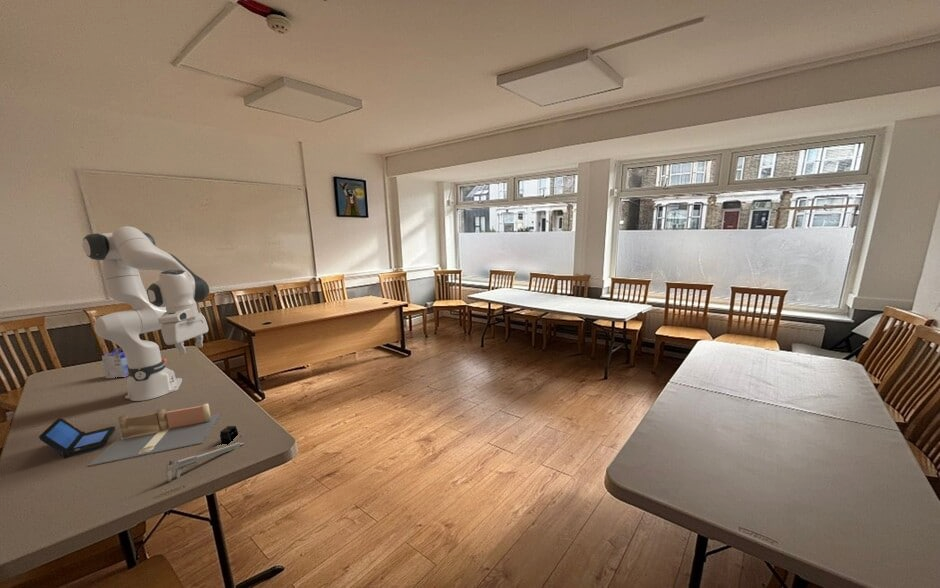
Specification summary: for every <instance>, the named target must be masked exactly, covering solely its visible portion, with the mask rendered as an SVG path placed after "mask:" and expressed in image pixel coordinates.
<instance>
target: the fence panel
mask: <svg viewBox="0 0 940 588" xmlns="http://www.w3.org/2000/svg"><path fill="white" fill-rule="evenodd" d="M166 415H167V420H168V425H169V428H174V427H179V426H185V425H190V424H195V423H201V422H207V421H210V420H211V411H210V405H209V403H208V402H207V403H204V404H202V405H197V406H192V407H186V408H181V409H180V408H179V409H173V410H169V411H166Z"/></svg>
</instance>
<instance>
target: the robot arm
mask: <svg viewBox="0 0 940 588" xmlns="http://www.w3.org/2000/svg"><path fill="white" fill-rule="evenodd" d="M81 246H82V249H83V252H84V253H85V255H86V256H87V257H88V258H90V259H91V260H94V261H102V273H103V277H104V281H105V285H106V287H107V291H108V294H109V296H110V298H111V299H112V300H114V301H116V302H119V303H124V304H127V305H129V306H131V307H132V309H129V310H128V309H127V310H122V311H115V312H111V313H107V314H105V315H101V316H99V317H97V318H96V320H94V321H95V322H94V325H93V330H94V332H95V334H96V335H97V336H98V337H100V338H101V339H104V340H107V341H110V342H112V343H114V344H116V345H117V346H119V348H121V351H122V352H124V354H125V356H126V359H127V363H128V374H129V376H128V379H126V388H127V394H126V395H125V396H124V398H125V399H127V400H130V401H132V402H140V401H141V402H142V401H148V400H152V399H155V398H159V397H162V396H165V395H167V394H169V393H172V392H176V391H178V390H179V388H180V386H181V384H182V382H183V378H181V377H176V374H175V371H174V370H172V369H170V368H168V367H167V366H166V365H165V364H166V363H167V358H162V354H161V351H160V346H159V344H157V343H156V342H154V341H151V340H146V339H145V340H144V339H141V338H140V335H141V334H142V335H143V334H145V333H150V332H155V331H159V330H161V335H162V338H163V341H164V343H165V344H166V345H167V346H171V345H174V347H175V348H176V349H177V350H178V352H179V355H181V356H182V355H186V354H188V348H187V347H185V346H184V345H185V343H184V342H185V341H188V340H190V339H193V338H194V339H196V340H195V343H194V344H195V348H202V347H203V346H204V344H203V341H204V334H206V333H208V332H209V325H208V323H207V320H206V317H205V316H204V315H203V313H202V312H200V310H198V304H197V303H203V301H205V300H206V299H207V298H208V297H209V294H210V287H209V284H208V283H207V282H206V280H204V279H203V278H202V277H200V276H198V275H197V274H195V273H194V271H192V270H191V269H190V268H189V267H188V266H187V265H186V264H184V263H183V262H182V261H181V260H180V259H179V258H178V257H176V256H175V255H174V254H172V253H169V252H166V251H165V250H162V249H161V248H159V247H157V246H156V241H155V238H154V237H153V236H152V235H151V234H150V233H149V232H148V233H147V232H144V231H141V230H140V229H139V228H137V227H134V226H129V225H128V226H127V225H125V226H121V227H118V228H116V229H115V230H113V232H102V233H98V232H96V233H90V234H87V235H86V236H84V237H83V238H82V245H81ZM140 270H142V271H159V272H160V273H159V277H158V278H159V279H158V280H157V281H156V282H154V283H153V282H152V283H151V284H150V285H149V286H148V288H145V285H144V283H143V281H142V276H141V274H140Z"/></svg>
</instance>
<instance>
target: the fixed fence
mask: <svg viewBox="0 0 940 588" xmlns="http://www.w3.org/2000/svg"><path fill="white" fill-rule="evenodd" d="M166 412H167V411H166V408H161V409H160V408H159V409H158V410H156V412H152V413H146V414H140V415H134V416H130V417H129V415H128V414H125V415H120V416H119V417H117V419H118V423H119V427H120V431H121V435H122V436H123V438H127V437H130V436H134V435H139V434H144V433H150V432H155V431H160V430H161V431H164V430H167V429H169V425H168V420H167V415H166Z"/></svg>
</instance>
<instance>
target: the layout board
mask: <svg viewBox="0 0 940 588" xmlns="http://www.w3.org/2000/svg"><path fill="white" fill-rule="evenodd" d="M220 414H221V413H217V414H212V415H211V414H210V415H211V420H210V421H207V422H201V423H195V424H190V425H185V426H179V427H174V428H169V429H167V430H164V431H161V430H160V431H155V432H150V433H144V434H139V435H134V436H130V437H127V438H123V436H122V434H121V435H119V436H118V437H117V438H116V439H115V440H114V441H113V442H111V444H110V445H109V446H107V447H106V448H105V449H104V450H103V451H102V452H101V453H100V454H99V455H98V456H96V457H95V458H94V460H92V461H91V462H90V463H89V464H88V465H87V466H89V467H93V466H92V465H94V466H97V465H96V464H99V465H103V464H102V463H104V464H108V463H107V462H109V463H113V462H112V461H114V462H117V461H116V460H119V461H122V459H124V460H127V459H128V458H129V459H133V458H138V457H142V456H147V455H148V456H149V455H154V454H159V453H162V452H163V453H164V452H167V451H172V450H178V449H182V447H183V448H188V447H191V446H196V445H197V444H198V445H202V444H203V442H205V440H206V439H207V436H209V434H210V433H211V431H212V429H213V428H214V426H215V425H216V423H217V422H218V420H219V419H220V417H221V416H220ZM219 416H220V417H219ZM218 418H219V419H218ZM217 419H218V420H217ZM216 421H217V422H216ZM215 422H216V423H215ZM214 424H215V425H214ZM212 427H213V428H212Z"/></svg>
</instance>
